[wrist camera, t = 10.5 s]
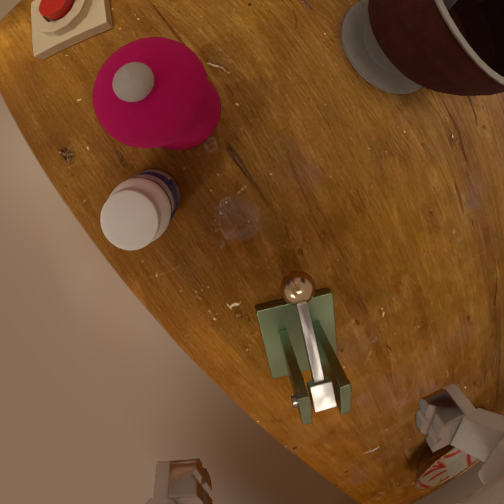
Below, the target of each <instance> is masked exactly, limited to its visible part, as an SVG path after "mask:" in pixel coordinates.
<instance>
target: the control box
mask: <svg viewBox="0 0 504 504" xmlns="http://www.w3.org/2000/svg"><path fill="white" fill-rule="evenodd" d="M40 2H41V0H35V1H33V2H31V20H32V40H33V53H34V57H36V58H39V59H42V60H44V59H46V58H48V57H50V56H52V55H53V54H55V53H57V52H59V51H61V50H64V49H66V48H68V47H70V46H72V45H74V44H76V43H78V42H81V41H83V40H85V39H88V38H90V37H92V36H95V35H97V34H99V33H102V32H104V31H107V30H110V29H112V28H113V24H112V17H111V9H110V1H109V0H74V3H73V6H72V8H71V10H70V11H69V12H68V13H67V14H66V15H65V16H64V17H62V18H60V19H58V20H50V19H48V18H46V17H44V16H43V15H41V14H40V12H39V5H40Z"/></svg>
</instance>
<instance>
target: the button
mask: <svg viewBox="0 0 504 504" xmlns="http://www.w3.org/2000/svg"><path fill="white" fill-rule="evenodd" d="M73 3H74V0H41V2H40V5H39V12H40V14H41V15H43V16H44V17H46V18H48V19H50V20H58V19H60V18H62V17H64V16H65V15H66V14H67V13H68V12H69V11H70V10H71V8H72V6H73Z"/></svg>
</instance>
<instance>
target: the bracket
mask: <svg viewBox="0 0 504 504" xmlns="http://www.w3.org/2000/svg"><path fill="white" fill-rule="evenodd" d="M308 306H309V310H310V315H311V319H312V324H313V328H314V332H315V337H316V341H317V346H318V351H319V355H320V360H321V365H322V369H323V371H324V374H325V376H327V377H328V378H329V379H330V380H331V381H332V384H333V389H334V394H335V399H336V403H337V405H338V408H339V410H340V413H341V415H342V414H345V413H349V412H350V392H351V391H352V388H351V384H350V381H349V380H348V379H347V377H346V375H345V372H344V370H343V368H342V366H341V364H340V362H339V360H338V358H337V345H336V331H335V319H334V307H333V297H332V292H331V291H330V289H329V288H325V289H321V290H317V291H315V294H314V296H313V298H312V299H311V300H310V301H309V302H308ZM255 308H256V313H257V317H258V321H259V325H260V329H261V333H262V337H263V342H264V346H265V350H266V354H267V358H268V362H269V366H270V370H271V374H272V378H277V377H281V376H285V375H289V378H290V381H291V385H292V388H293V392H294V394H293V395H291V400H292V404H293V407H294V408H296V407H298V410H299V413H300V417H301V420H302V424H303V425H307V424H311V423H312V415H311V408H310V401H309V395H308V392H307V389H306V386H305V383H304V380H303V377H302V374H301V371H305V370H309V369H310V367H309V362H308V358H307V353H306V349H305V344H304V340H303V335H302V331H301V326H300V322H299V318H298V313H297V309H296V306H295V305H291V304H289V303H288V302H286V301H285V300H284V299H281V300H276V301H272V302H268V303H264V304H259V305H255Z"/></svg>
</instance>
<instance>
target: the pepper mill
mask: <svg viewBox="0 0 504 504" xmlns="http://www.w3.org/2000/svg"><path fill="white" fill-rule="evenodd" d="M93 106H94V110H95V113H96V116H97V118H98V120H99V122H100V124H101V126H102V127H103V128H104V129H105V130H106V132H107V133H108V134H109V135H110V136H112V137H113V138H114V139H116V140H117V141H119V142H121V143H123V144H125V145H128V146H132V147H137V148H155V147H162V148H166V149H170V150H185V149H189V148H192V147H195V146H197V145H198V144H200V143H202V142H203V141H204V140H206V139H207V138H208V137H209V136H210V135H211V134H212V132H213V131H214V129H215V128H216V126H217V123H218V121H219V117H220V112H221V104H220V98H219V96H218V93H217V91H216V89H215V88H214V86H213V85H212V84H211V83H210V81H209V80H208V79H207V74H206V72H205V69H204V67H203V64H202V63H201V61H200V60H199V58H198V57H197V56H196V54H195V53H194V52H193V51H191V50H190V49H189V48H188V47H186V46H185V45H183V44H182V43H179V42H177V41H175V40H172V39H167V38H163V37H150V38H144V39H139V40H136V41H133V42H130V43H128V44H126V45H125V46H123V47H121V48H120V49H118V50H117V51H116V52H114V53H113V54H112V55H111V56H110V57H109V58H108V59H107V60H106V62H105V63H104V65H103V66H102V68H101V69H100V70H99V73H98V75H97V78H96V80H95V84H94V89H93Z"/></svg>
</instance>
